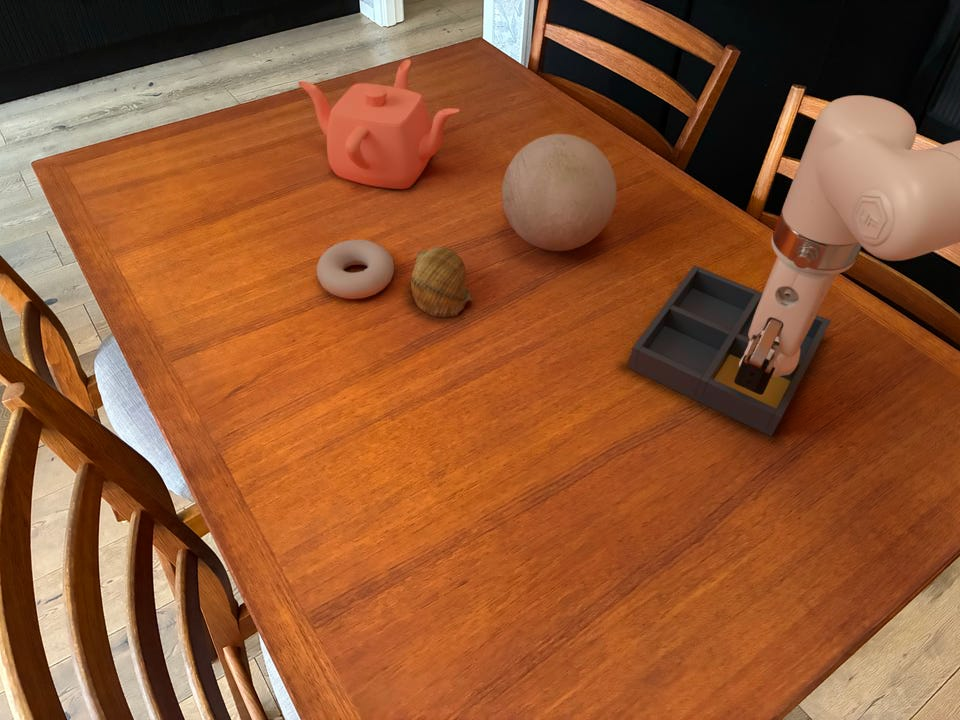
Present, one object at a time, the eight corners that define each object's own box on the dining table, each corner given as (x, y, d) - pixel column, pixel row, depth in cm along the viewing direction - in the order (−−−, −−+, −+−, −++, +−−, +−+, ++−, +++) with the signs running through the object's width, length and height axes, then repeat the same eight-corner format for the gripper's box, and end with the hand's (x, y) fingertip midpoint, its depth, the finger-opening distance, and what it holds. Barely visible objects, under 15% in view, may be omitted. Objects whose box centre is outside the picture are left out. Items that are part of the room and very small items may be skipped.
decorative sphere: (536, 287, 94) (544, 191, 83) (481, 224, 103) (482, 129, 92) (629, 253, 99) (649, 157, 88) (569, 195, 108) (581, 101, 97)
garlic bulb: (719, 370, 80) (732, 336, 76) (756, 348, 83) (770, 314, 79) (758, 402, 77) (773, 368, 73) (795, 378, 80) (812, 344, 76)
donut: (354, 245, 100) (302, 283, 94) (351, 224, 98) (297, 262, 92) (410, 273, 96) (359, 315, 91) (409, 253, 94) (356, 295, 88)
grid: (820, 341, 89) (831, 320, 86) (771, 437, 79) (781, 417, 76) (687, 285, 95) (694, 264, 92) (627, 367, 85) (632, 347, 83)
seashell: (464, 328, 95) (497, 277, 93) (440, 331, 89) (475, 276, 86) (410, 286, 98) (440, 236, 95) (383, 285, 91) (415, 231, 89)
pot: (418, 125, 121) (414, 51, 111) (461, 180, 110) (460, 104, 101) (310, 150, 115) (296, 75, 106) (344, 211, 105) (331, 133, 96)
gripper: (831, 306, 60) (766, 435, 73) (884, 203, 70) (819, 333, 83) (743, 272, 63) (696, 402, 76) (807, 177, 72) (755, 307, 86)
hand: (761, 365), depth 79 cm, fingers closed on garlic bulb, 6 cm apart
